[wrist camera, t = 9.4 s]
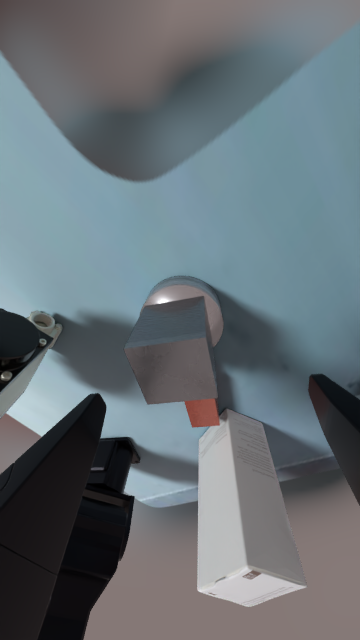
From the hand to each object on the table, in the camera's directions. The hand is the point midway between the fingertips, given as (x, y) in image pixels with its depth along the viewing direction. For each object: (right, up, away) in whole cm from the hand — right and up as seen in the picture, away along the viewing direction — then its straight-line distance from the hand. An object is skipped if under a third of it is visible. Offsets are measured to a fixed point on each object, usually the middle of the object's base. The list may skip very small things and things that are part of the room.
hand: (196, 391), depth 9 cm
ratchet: (+1, -1, +16) cm, 16 cm away
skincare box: (+6, -12, +22) cm, 26 cm away
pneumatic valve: (-16, +2, +15) cm, 22 cm away
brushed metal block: (-1, +2, +10) cm, 11 cm away
